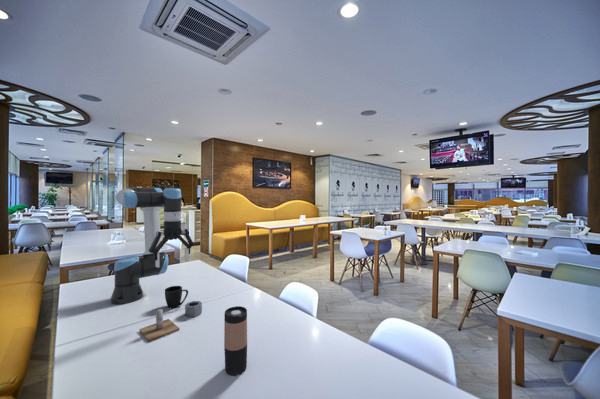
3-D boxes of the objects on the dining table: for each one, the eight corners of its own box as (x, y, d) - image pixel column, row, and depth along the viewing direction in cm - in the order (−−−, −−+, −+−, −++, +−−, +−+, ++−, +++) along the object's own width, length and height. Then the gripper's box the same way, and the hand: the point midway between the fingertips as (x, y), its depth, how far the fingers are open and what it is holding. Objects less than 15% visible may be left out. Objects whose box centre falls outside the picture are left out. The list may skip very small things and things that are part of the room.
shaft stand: (139, 331, 109) (139, 310, 109) (168, 320, 118) (168, 302, 118) (148, 342, 101) (148, 320, 101) (179, 330, 110) (179, 310, 110)
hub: (183, 314, 124) (183, 304, 124) (197, 309, 130) (197, 299, 130) (189, 319, 120) (189, 308, 119) (204, 313, 125) (203, 303, 125)
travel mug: (226, 361, 89) (226, 306, 89) (248, 360, 90) (248, 305, 90) (222, 377, 82) (221, 317, 81) (245, 375, 82) (245, 316, 82)
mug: (183, 310, 128) (182, 292, 128) (161, 309, 130) (161, 291, 130) (191, 303, 137) (191, 286, 136) (171, 302, 138) (171, 285, 138)
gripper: (146, 223, 109) (146, 271, 110) (201, 218, 128) (200, 260, 128) (140, 221, 114) (140, 267, 114) (194, 217, 132) (193, 257, 133)
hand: (172, 263), depth 121 cm, fingers open, 13 cm apart
